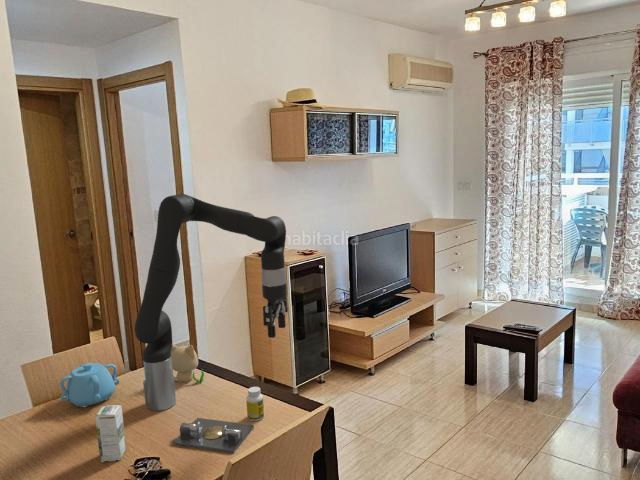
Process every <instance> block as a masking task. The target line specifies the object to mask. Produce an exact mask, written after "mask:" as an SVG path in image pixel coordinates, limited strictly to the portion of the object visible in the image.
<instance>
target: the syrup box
mask: <svg viewBox="0 0 640 480" xmlns="http://www.w3.org/2000/svg"><path fill="white" fill-rule="evenodd" d="M123 416H124V415H123V409H122V405H121V404H120V405H119V404H114V405H113V404H112V405H104V406H101V407H100V409H99V411H98V412H97V413H96V415H95V416H94V419H95V420H94V421H95V426H96V435H97V436H96V437H97V445H98V453H99V461H109V462H116V460H118V461H121V460H122V459H123V456H124V454H125V452H126V449H127V447H126V435H125V427H124V417H123Z"/></svg>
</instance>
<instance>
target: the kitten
mask: <svg viewBox="0 0 640 480" xmlns="http://www.w3.org/2000/svg"><path fill="white" fill-rule="evenodd" d="M171 359H172V368H173V371H175V372H177V373H176V376H174V375H173V377H174V382H182V383H186V382H190V381H192V380H193V379H194V381H196V384H202V383H203V382H204V376H205V372H204V370H203V369H200V371H201V376H200V378H199V379H198V378H196V377H195V371H194V370H196V369H197V367H198V365H199V358H198V354H197V352H196V351H195V349H194V346H193V345H192V344H190V345H179V346H177V345H175V344H174V343H172V349H171Z"/></svg>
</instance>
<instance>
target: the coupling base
mask: <svg viewBox="0 0 640 480" xmlns="http://www.w3.org/2000/svg"><path fill="white" fill-rule="evenodd" d="M254 428H255V425H254V424H252V423H251V424H250V423H241V422H234V421H225V420H218V419H210V418H209V419H208V418H202V417H201V418H200V417H196V419H195V420H193V422H192V423H191V422H190V423H189V422H181V424H180V426H179V435H178V436H177V437H176V438H175V439H174V440H173V441H172V444H173V446H179V447H187V448H194V449H201V450H208V451H215V452H219V453H220V452H222V453H227V454H235V452H236V451H237V450H238V449H239V448H240V446H241V445H242V444H243V443H244V442H245V440H246V439H247V438H248V436H250V434H251V432H252V431H253V430H254Z"/></svg>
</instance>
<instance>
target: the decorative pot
mask: <svg viewBox="0 0 640 480" xmlns="http://www.w3.org/2000/svg"><path fill="white" fill-rule="evenodd" d="M108 368H112V369H113V374H112V375H111V373H110V372H109V370H108ZM117 372H118V369H117V366H116V365H115V364H113V363H107V364H105V365H103V364H102V363H100V362H94V363H92V362H85V363H83V364H81V365H80V366H79V367H76V368H74V369H72V371H71V373H70V374H69V375H66V376H64V377H63V378H61V380H60V381H59V386H60V388H61V390H62V392H63V393H62V394H61V395H60V400H61V401H63V402H67V401H70V402H71V403H72V404H73V405H74V406H76V407H81V406H87V405H89V406H90V405H94V404H97V403H101V402H104V401H103V400H106V399H108V400H109V398H110V397H112V396H113V395H114V393H115V390H116V386H118V385H119V384H120V379H119V377H117ZM65 381H67V383H66V384H67V385H66V387H65V386H64V383H65ZM64 396H65V397H64ZM106 401H107V400H106Z"/></svg>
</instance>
